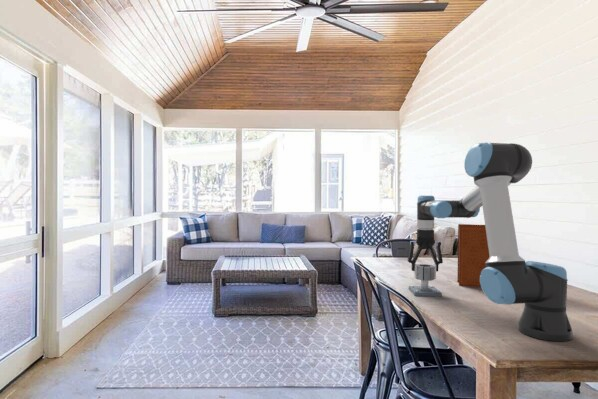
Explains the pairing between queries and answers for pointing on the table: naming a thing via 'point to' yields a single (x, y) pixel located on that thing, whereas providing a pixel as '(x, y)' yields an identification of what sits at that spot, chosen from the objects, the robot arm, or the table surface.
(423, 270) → the hub
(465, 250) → the book
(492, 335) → the table surface
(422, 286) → the shaft block
